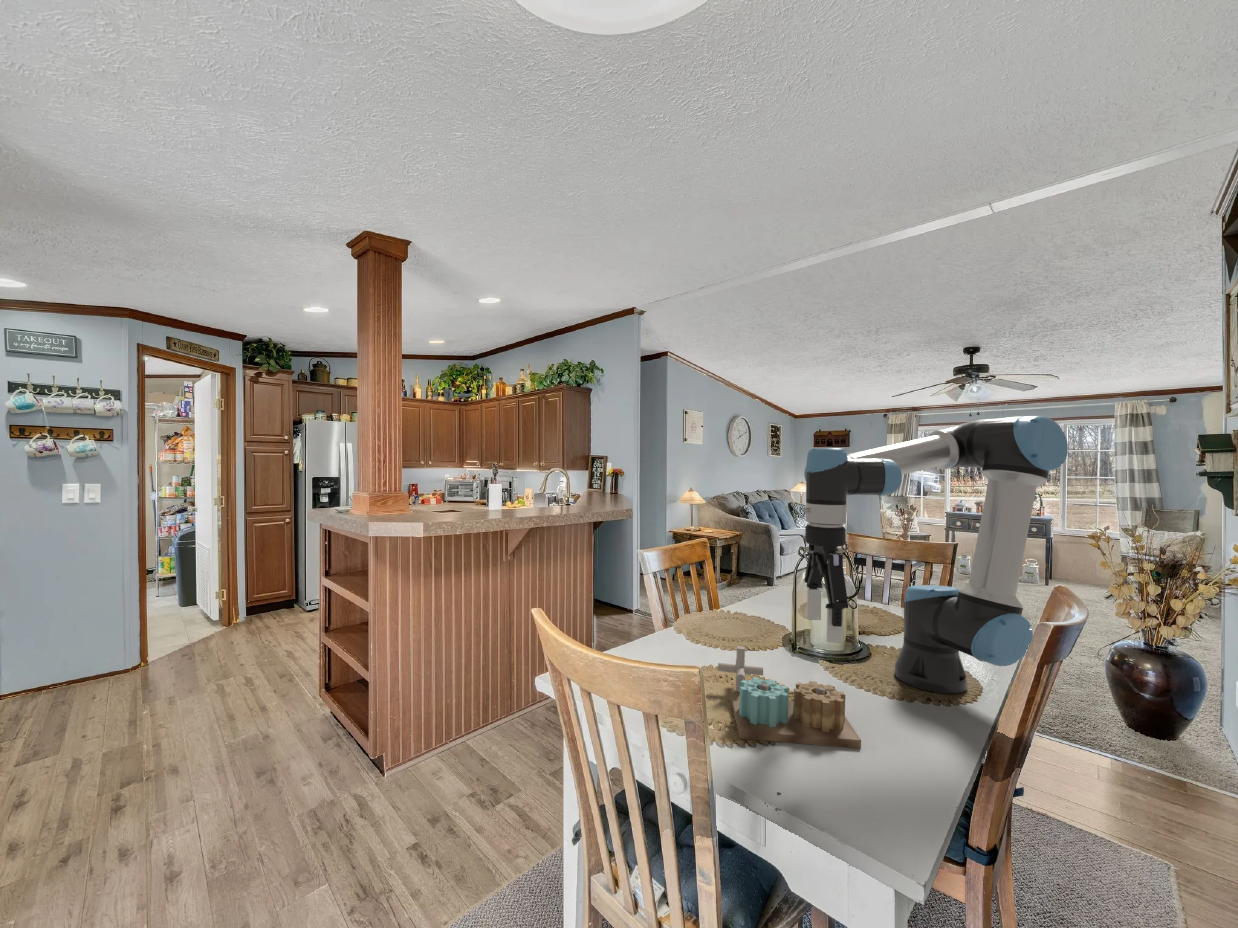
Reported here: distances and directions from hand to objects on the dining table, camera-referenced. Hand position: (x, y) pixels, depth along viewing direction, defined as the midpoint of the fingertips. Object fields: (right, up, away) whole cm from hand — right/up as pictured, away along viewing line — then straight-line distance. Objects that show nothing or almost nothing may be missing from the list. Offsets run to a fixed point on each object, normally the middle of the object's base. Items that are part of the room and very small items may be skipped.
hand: (823, 630), depth 104 cm
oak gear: (-1, -17, -1) cm, 17 cm away
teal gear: (-12, -17, 0) cm, 21 cm away
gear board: (-7, -19, 0) cm, 20 cm away
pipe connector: (-14, -19, +14) cm, 27 cm away
